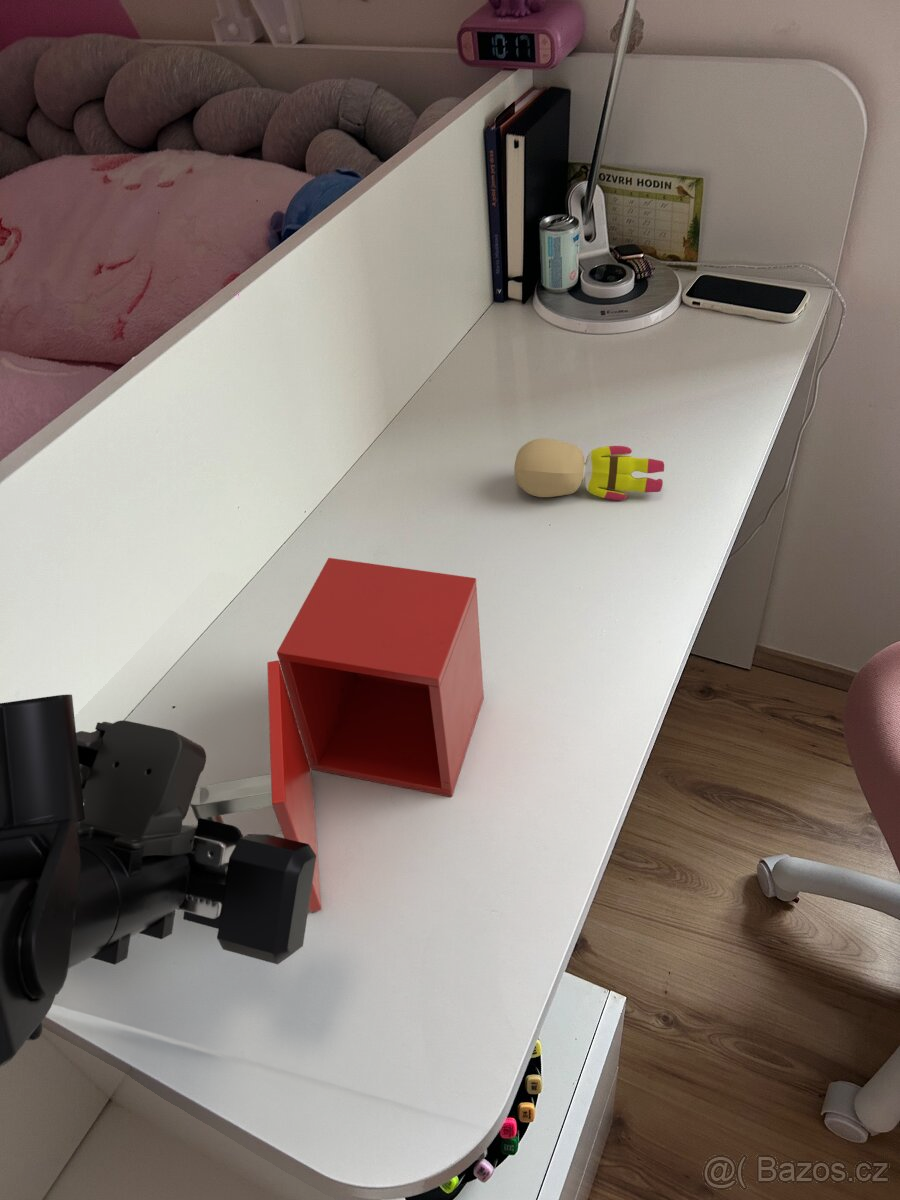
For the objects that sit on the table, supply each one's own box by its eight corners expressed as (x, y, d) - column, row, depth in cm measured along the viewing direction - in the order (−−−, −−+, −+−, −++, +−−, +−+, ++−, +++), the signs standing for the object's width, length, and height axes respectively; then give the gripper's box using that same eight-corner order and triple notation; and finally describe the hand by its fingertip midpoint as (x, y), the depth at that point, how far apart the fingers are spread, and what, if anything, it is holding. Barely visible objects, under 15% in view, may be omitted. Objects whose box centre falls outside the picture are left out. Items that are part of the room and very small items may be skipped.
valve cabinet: (452, 797, 70) (438, 679, 61) (310, 769, 73) (276, 652, 63) (484, 697, 77) (476, 577, 67) (353, 675, 80) (328, 557, 70)
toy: (665, 443, 95) (521, 433, 98) (667, 450, 88) (512, 439, 91) (659, 501, 97) (517, 489, 99) (660, 512, 90) (508, 499, 92)
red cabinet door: (234, 926, 63) (183, 819, 54) (235, 787, 72) (190, 674, 63) (321, 910, 64) (285, 801, 55) (312, 774, 72) (278, 659, 63)
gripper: (262, 778, 43) (376, 743, 58) (-57, 709, 48) (123, 693, 64) (227, 1013, 43) (350, 918, 58) (-89, 919, 48) (99, 854, 63)
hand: (226, 838), depth 61 cm, fingers closed, pressing on red cabinet door
